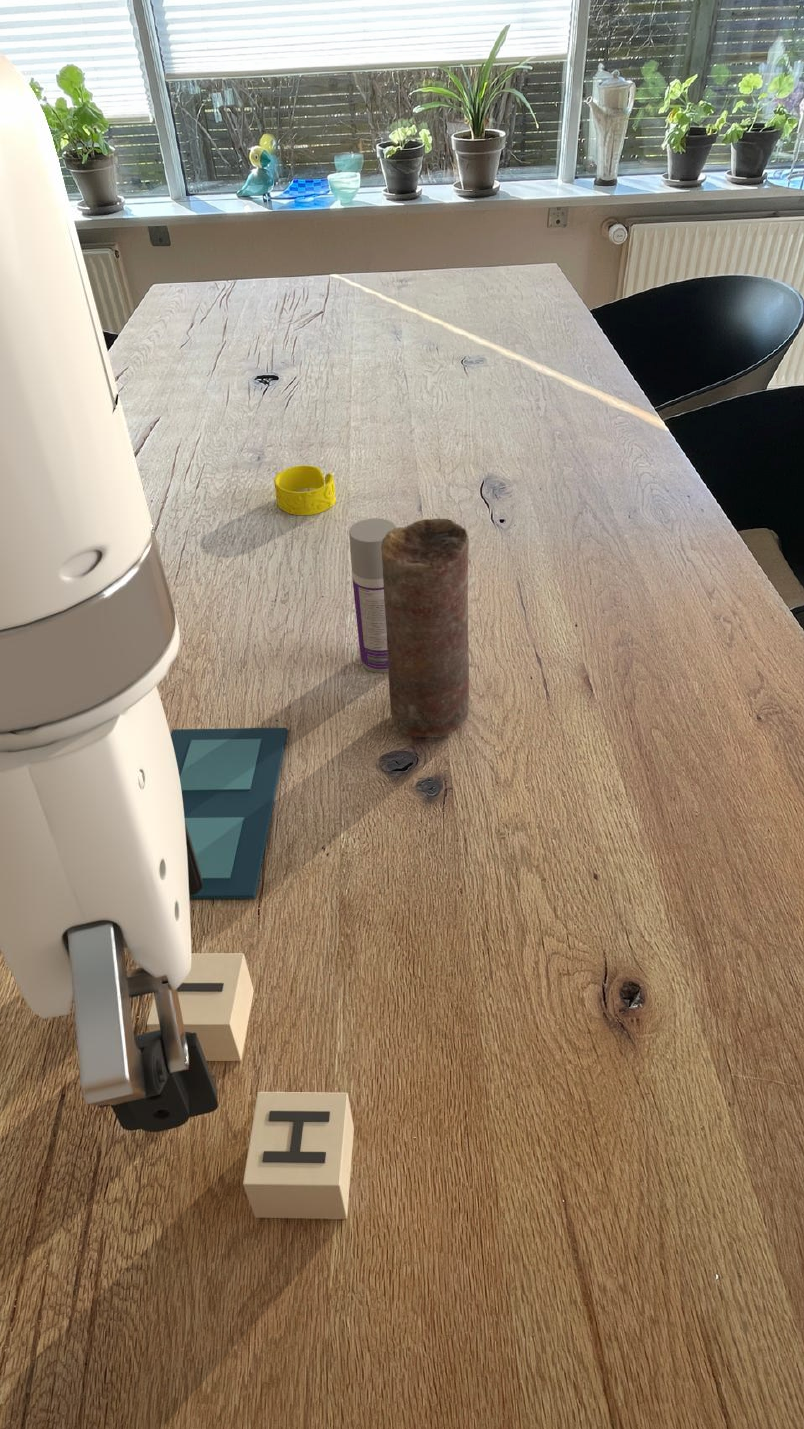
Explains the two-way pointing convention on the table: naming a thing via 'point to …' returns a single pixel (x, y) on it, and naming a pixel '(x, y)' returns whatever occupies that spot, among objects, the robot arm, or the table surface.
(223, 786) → the word mat
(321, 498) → the bracelet
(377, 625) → the container
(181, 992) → the tile
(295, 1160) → the tile
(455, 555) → the candle
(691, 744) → the table surface
